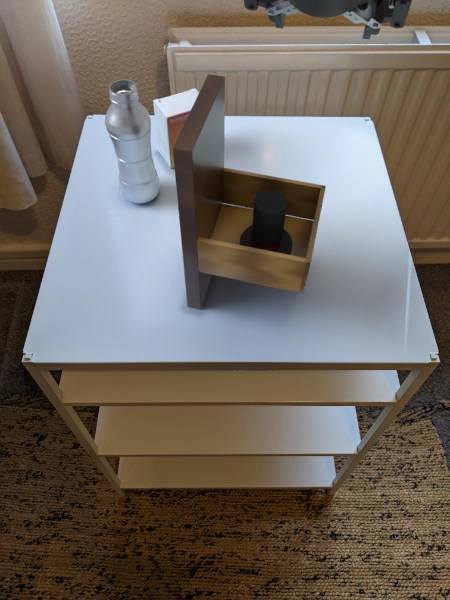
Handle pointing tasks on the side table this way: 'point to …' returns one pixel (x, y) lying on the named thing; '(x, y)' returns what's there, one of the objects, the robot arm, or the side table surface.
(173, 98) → the small box
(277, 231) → the hat
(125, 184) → the plastic bottle
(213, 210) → the wooden drawer
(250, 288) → the side table surface
